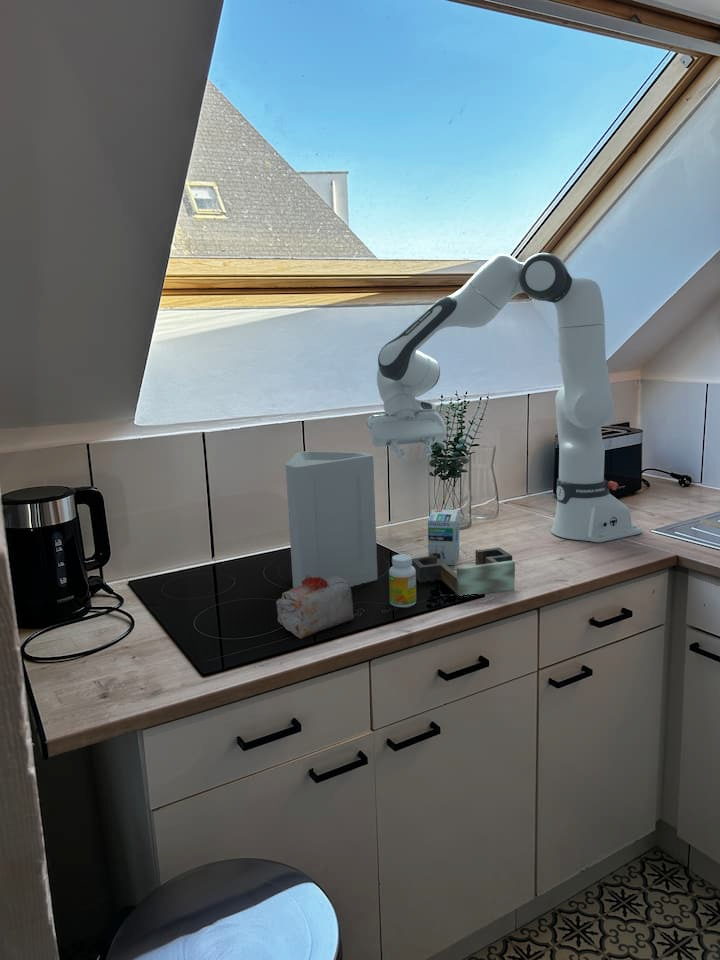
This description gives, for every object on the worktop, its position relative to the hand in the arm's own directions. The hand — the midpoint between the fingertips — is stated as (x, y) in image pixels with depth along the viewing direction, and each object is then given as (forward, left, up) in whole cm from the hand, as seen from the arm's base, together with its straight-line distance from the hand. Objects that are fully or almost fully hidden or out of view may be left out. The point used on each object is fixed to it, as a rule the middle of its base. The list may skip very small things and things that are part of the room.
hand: (415, 455), depth 186 cm
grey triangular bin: (+30, +23, -22) cm, 44 cm away
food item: (+37, +47, -22) cm, 64 cm away
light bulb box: (0, +19, -22) cm, 29 cm away
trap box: (0, +34, -22) cm, 41 cm away
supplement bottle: (+18, +42, -22) cm, 51 cm away
